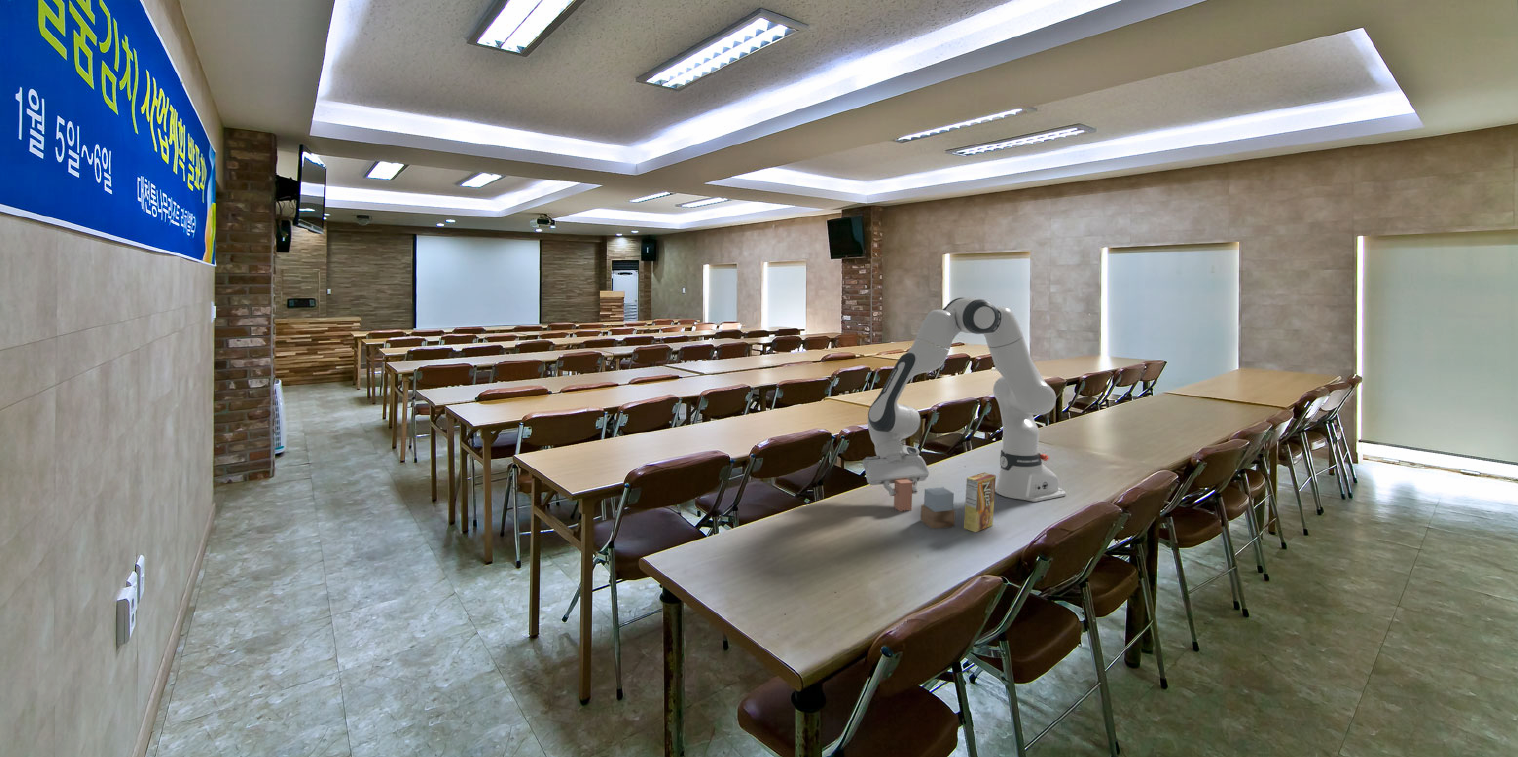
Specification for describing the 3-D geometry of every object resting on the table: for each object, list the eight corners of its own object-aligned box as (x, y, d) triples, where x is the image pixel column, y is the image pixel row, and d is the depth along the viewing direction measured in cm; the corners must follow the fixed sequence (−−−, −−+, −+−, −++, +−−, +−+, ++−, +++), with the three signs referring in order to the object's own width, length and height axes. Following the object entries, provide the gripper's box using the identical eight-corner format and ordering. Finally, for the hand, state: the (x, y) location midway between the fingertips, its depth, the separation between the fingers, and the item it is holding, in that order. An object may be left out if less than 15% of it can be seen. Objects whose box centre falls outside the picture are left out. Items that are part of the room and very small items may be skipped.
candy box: (980, 521, 201) (983, 471, 198) (993, 525, 197) (996, 474, 195) (963, 528, 195) (965, 477, 193) (976, 533, 192) (978, 480, 190)
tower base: (941, 518, 204) (942, 502, 203) (954, 526, 197) (954, 510, 196) (920, 520, 202) (921, 504, 201) (932, 529, 195) (933, 512, 194)
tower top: (942, 503, 202) (942, 487, 201) (952, 510, 197) (953, 493, 196) (924, 505, 201) (924, 488, 200) (934, 511, 195) (935, 495, 194)
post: (905, 506, 214) (906, 478, 213) (911, 510, 210) (912, 482, 209) (893, 507, 213) (894, 479, 212) (899, 511, 209) (900, 483, 208)
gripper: (864, 452, 213) (876, 492, 205) (923, 448, 218) (937, 486, 211) (858, 462, 218) (869, 501, 210) (915, 458, 223) (929, 496, 215)
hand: (904, 494), depth 210 cm, fingers open, 6 cm apart
